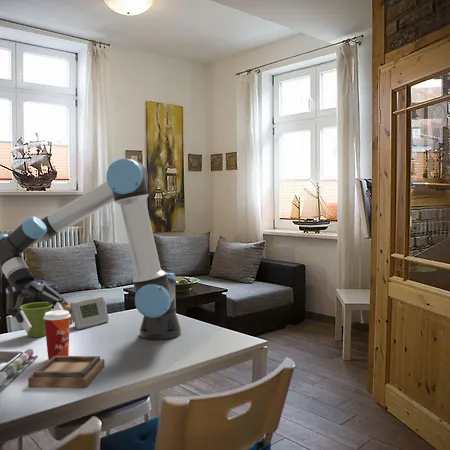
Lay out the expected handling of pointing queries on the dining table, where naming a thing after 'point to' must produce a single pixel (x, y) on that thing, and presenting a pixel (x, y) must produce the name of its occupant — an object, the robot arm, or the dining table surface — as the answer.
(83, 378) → the walnut base plate
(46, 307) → the plant pot
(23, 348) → the dining table surface
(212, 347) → the dining table surface
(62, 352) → the coffee cup
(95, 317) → the digital clock
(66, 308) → the lion figurine
